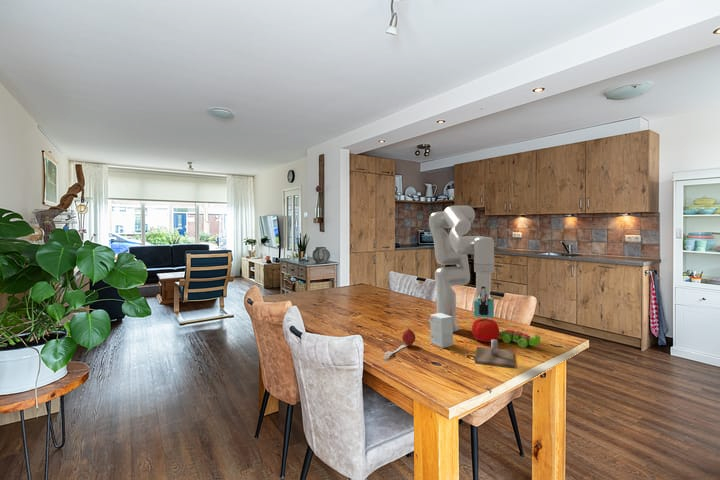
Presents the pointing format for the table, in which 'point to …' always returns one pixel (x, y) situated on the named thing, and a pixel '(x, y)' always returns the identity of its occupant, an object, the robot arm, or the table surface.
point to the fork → (393, 352)
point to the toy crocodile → (519, 338)
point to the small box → (441, 330)
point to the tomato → (485, 330)
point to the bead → (490, 308)
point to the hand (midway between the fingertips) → (484, 312)
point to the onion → (408, 337)
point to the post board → (494, 356)
